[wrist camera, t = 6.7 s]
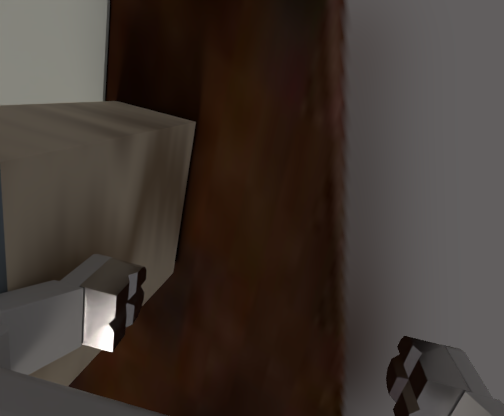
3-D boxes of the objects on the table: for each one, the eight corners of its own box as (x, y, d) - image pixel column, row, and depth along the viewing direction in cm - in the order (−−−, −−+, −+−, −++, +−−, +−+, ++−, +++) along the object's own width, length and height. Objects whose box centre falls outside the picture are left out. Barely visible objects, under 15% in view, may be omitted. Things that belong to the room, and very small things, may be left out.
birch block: (116, 101, 16) (-198, 113, 7) (196, 121, 15) (-27, 167, 6) (106, 249, 19) (-121, 403, 9) (173, 272, 18) (-1, 459, 9)
